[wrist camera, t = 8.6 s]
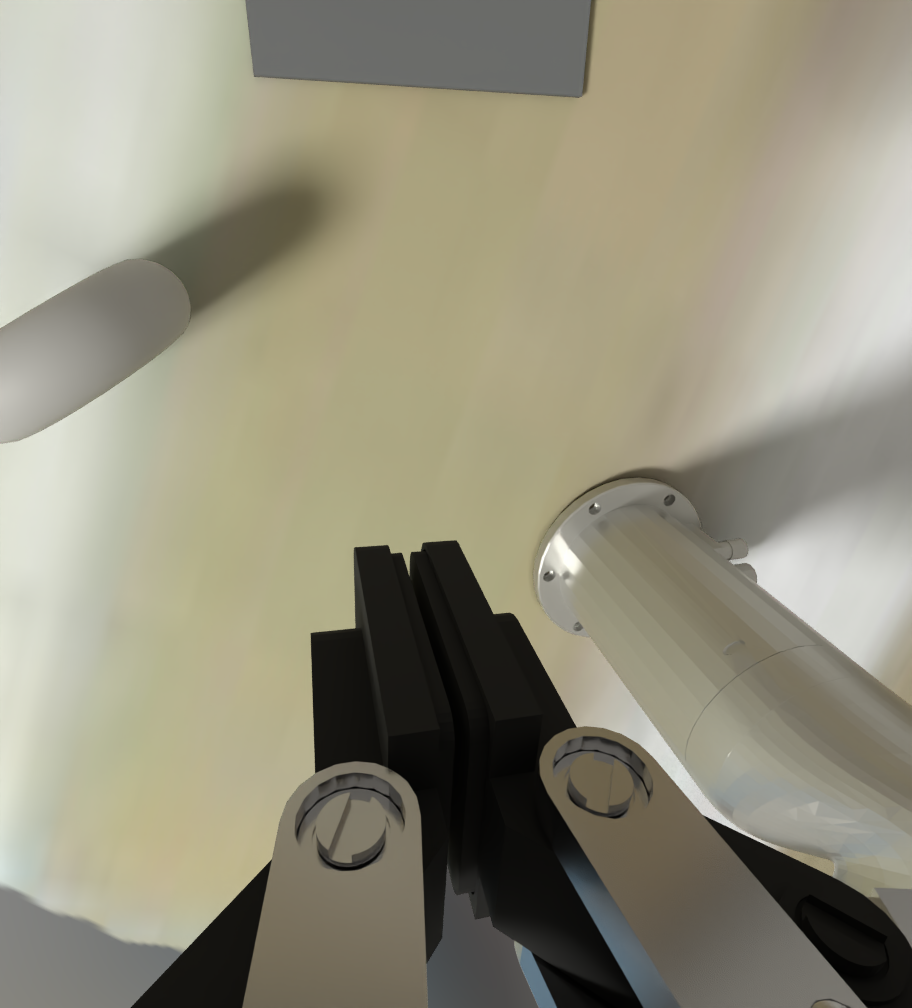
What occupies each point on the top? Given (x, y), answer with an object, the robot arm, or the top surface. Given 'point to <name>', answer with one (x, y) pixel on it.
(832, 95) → the top surface
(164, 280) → the donut
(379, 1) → the mat
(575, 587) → the robot arm
